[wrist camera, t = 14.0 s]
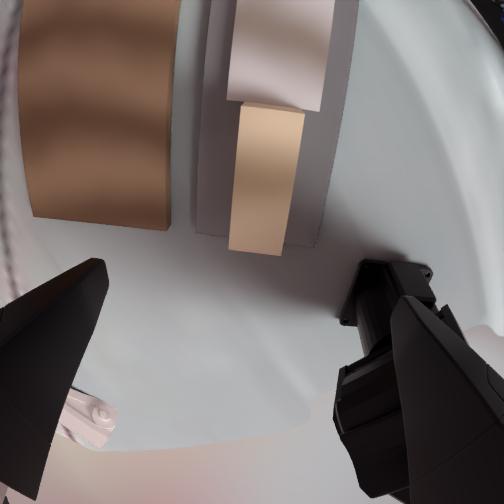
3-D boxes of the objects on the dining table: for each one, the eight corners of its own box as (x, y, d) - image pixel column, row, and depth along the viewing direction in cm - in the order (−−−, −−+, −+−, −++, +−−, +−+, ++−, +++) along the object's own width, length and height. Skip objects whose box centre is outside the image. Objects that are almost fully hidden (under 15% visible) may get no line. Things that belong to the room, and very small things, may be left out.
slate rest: (313, 241, 22) (314, 247, 21) (198, 227, 22) (195, 233, 21) (356, -8, 12) (360, -11, 12) (217, -26, 12) (215, -30, 12)
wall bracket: (-5, 319, 41) (117, 415, 45) (-26, 348, 35) (99, 448, 39) (-17, 295, 34) (124, 409, 38) (-43, 328, 29) (102, 449, 33)
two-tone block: (295, 232, 20) (298, 258, 18) (219, 223, 20) (210, 247, 18) (332, -2, 12) (344, -15, 10) (241, -14, 12) (234, -30, 10)
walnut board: (170, 224, 22) (166, 231, 21) (40, 211, 22) (33, 216, 21) (206, -129, 7) (204, -136, 6) (55, -92, 7) (48, -95, 6)
